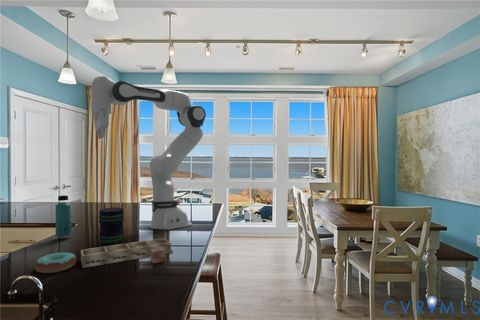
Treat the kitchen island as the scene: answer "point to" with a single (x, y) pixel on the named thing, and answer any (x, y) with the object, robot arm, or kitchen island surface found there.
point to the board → (122, 252)
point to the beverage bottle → (63, 217)
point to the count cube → (157, 255)
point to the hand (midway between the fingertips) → (101, 138)
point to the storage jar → (111, 226)
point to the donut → (55, 262)
